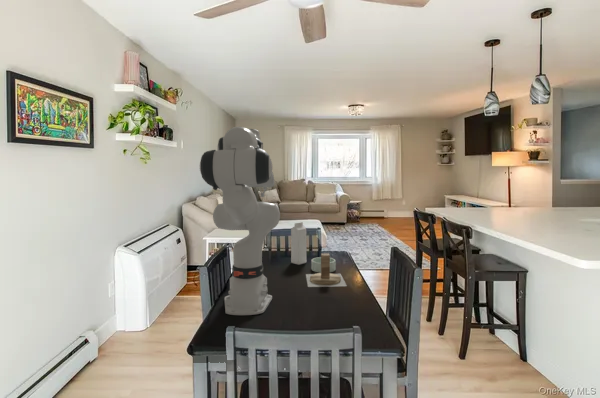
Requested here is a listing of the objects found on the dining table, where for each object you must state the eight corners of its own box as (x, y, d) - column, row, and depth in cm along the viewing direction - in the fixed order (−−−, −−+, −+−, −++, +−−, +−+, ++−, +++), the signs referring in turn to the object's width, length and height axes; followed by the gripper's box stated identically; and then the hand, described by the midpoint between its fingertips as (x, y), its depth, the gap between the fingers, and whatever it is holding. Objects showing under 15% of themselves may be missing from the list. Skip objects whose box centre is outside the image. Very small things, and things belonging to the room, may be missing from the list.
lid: (342, 284, 158) (342, 258, 156) (311, 285, 157) (311, 258, 156) (338, 274, 172) (338, 250, 170) (309, 275, 171) (308, 250, 170)
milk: (306, 262, 195) (306, 222, 192) (298, 264, 190) (298, 224, 188) (299, 260, 199) (299, 221, 197) (290, 262, 195) (290, 222, 193)
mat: (346, 287, 156) (346, 286, 156) (308, 287, 155) (308, 286, 155) (340, 274, 174) (340, 273, 174) (305, 275, 173) (305, 274, 173)
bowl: (336, 273, 176) (337, 263, 175) (312, 273, 175) (312, 263, 175) (333, 266, 187) (333, 256, 187) (310, 266, 187) (310, 257, 187)
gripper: (226, 167, 155) (227, 198, 158) (273, 166, 156) (274, 198, 159) (228, 165, 161) (230, 195, 164) (274, 165, 162) (274, 195, 165)
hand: (252, 196), depth 161 cm, fingers open, 8 cm apart
